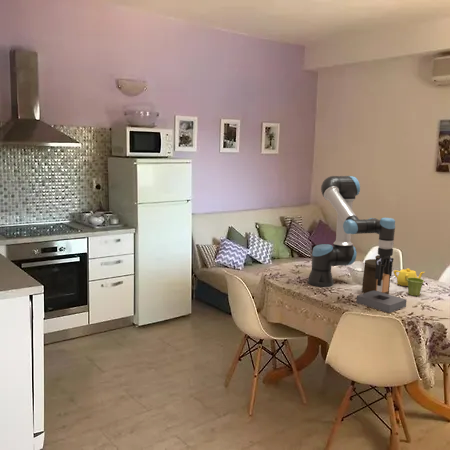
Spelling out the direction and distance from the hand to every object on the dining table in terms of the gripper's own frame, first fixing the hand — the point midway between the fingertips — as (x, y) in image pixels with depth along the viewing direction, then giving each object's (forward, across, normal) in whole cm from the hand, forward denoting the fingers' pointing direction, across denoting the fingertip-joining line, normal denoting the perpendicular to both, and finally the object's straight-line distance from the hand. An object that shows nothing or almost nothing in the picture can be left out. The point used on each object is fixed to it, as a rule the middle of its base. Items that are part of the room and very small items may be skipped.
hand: (382, 290), depth 274 cm
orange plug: (0, 0, 0) cm, 0 cm away
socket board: (+8, 0, 0) cm, 8 cm away
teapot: (+8, +46, +11) cm, 48 cm away
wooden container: (+8, +16, +14) cm, 23 cm away
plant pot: (+8, +32, -1) cm, 33 cm away
